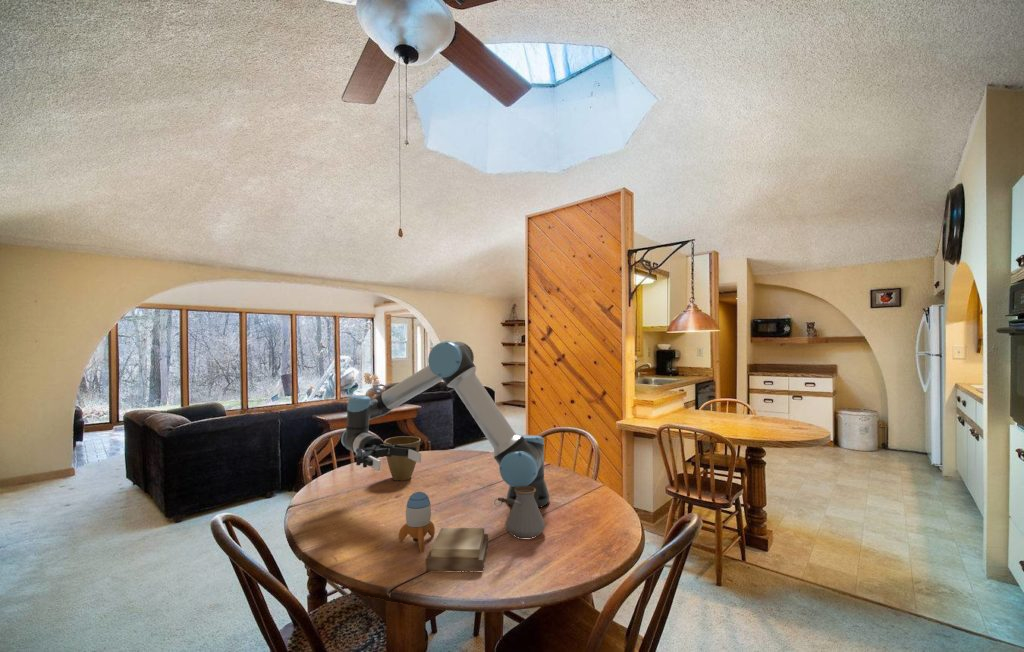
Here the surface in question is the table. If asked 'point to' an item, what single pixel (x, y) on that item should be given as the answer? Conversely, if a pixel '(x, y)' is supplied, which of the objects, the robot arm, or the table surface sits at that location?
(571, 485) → the table surface
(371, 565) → the table surface
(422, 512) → the toy rocket
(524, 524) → the coffee pot
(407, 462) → the plant pot
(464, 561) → the pad
